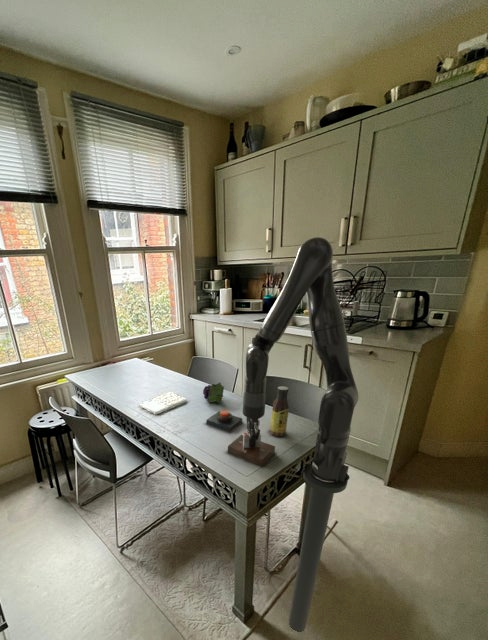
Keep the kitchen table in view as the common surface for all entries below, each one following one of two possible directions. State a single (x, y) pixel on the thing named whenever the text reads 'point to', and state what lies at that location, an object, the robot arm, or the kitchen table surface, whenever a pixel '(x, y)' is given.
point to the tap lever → (246, 440)
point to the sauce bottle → (279, 412)
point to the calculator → (163, 403)
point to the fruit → (213, 392)
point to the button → (224, 414)
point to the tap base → (251, 451)
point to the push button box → (224, 422)
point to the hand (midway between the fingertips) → (251, 444)
